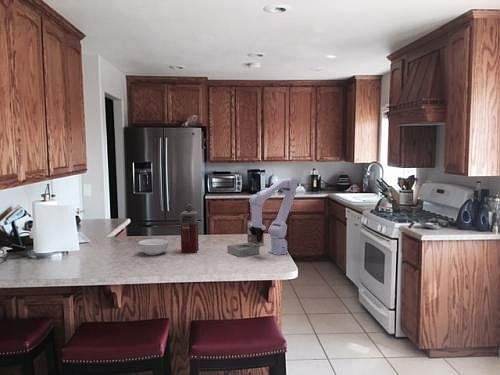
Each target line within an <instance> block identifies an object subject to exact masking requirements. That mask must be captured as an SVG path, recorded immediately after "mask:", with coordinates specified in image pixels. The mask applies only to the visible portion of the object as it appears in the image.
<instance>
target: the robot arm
mask: <svg viewBox="0 0 500 375" xmlns="http://www.w3.org/2000/svg"><path fill="white" fill-rule="evenodd" d="M297 188H298V182H297V179H296V178H294V177H283V176H282V177H280V178H279V179H277V181H276V182H275V183H273V184H272V185H270V186H269V187H263V188H262V189H261V190H260V191H258V192H256V193H255V194H252V195H251V196H250V197H249V200H248V202H249V204H250V208H251V220H252V223H248V222H247V227H248V226H251V228H249V230H250V232H251V235H252V234H256V235H257V241H258V242H261V240H262V236H263V234H264V233H265V231H266V230H267V227H266V225H265V224H264V225H263V224H262V219H263V205H264V203H265V201H267V200H268V199H269V198H271V197H272V195H273V193H275V192H276V191H277V192H278V190H280V189H281V191H282V192H283V194H284V197H283V200H282V202H281V205H280V208H279V211H278V213H277V216H276V218H275V220H273V221H272V222H271V225H270V226H269V227H268V231H267V232H268V235H269V237H270V242H271V243H270V247H271V248H270V249H271V250H268V253H270V254H272V255H273V254H274V255H275V256H279V255H285V254H289V252H288V241H287V240H286V238H285V236H286V235H287V230H288V224H287V223H286V221H287V218H288V216H289V213H290V211H291V207H292V204H293V202H294V199H295V195H296V190H297Z"/></svg>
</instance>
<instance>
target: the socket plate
mask: <svg viewBox="0 0 500 375" xmlns="http://www.w3.org/2000/svg"><path fill="white" fill-rule="evenodd" d="M226 252H227V253H228V254H230V253H231V255H234V256H235V257H238V258H243V257H249V256H250V257H251V256H256V255H260V246H258V247H257V246H254V245H251V244H248V242H245V243H244V242H243V243H237V244H229V245H228V244H227V251H226Z"/></svg>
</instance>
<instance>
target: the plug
mask: <svg viewBox="0 0 500 375" xmlns="http://www.w3.org/2000/svg"><path fill="white" fill-rule="evenodd" d="M251 243H253V245H256V244H259V245H261V243H263V236H262V240H261V242H258V241H257V235H256V234H252V235H251ZM261 246H262V245H261Z"/></svg>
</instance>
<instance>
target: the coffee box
mask: <svg viewBox="0 0 500 375" xmlns="http://www.w3.org/2000/svg"><path fill="white" fill-rule="evenodd" d="M264 221H265V220H264V219H263V218H262V224H263V225H264V226H265V223H264ZM248 223H252V219H249V220H247V224H248ZM249 228H251V226H248V225H247V243H248V244H251V245H253V243H251V232H250V230H249ZM264 237H265V236H264V234H263V243H261V246H264V245H265V243H264V242H265V240H264ZM263 244H264V245H263ZM254 246H258V247H260V245H259V244H256V245H254Z"/></svg>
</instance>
